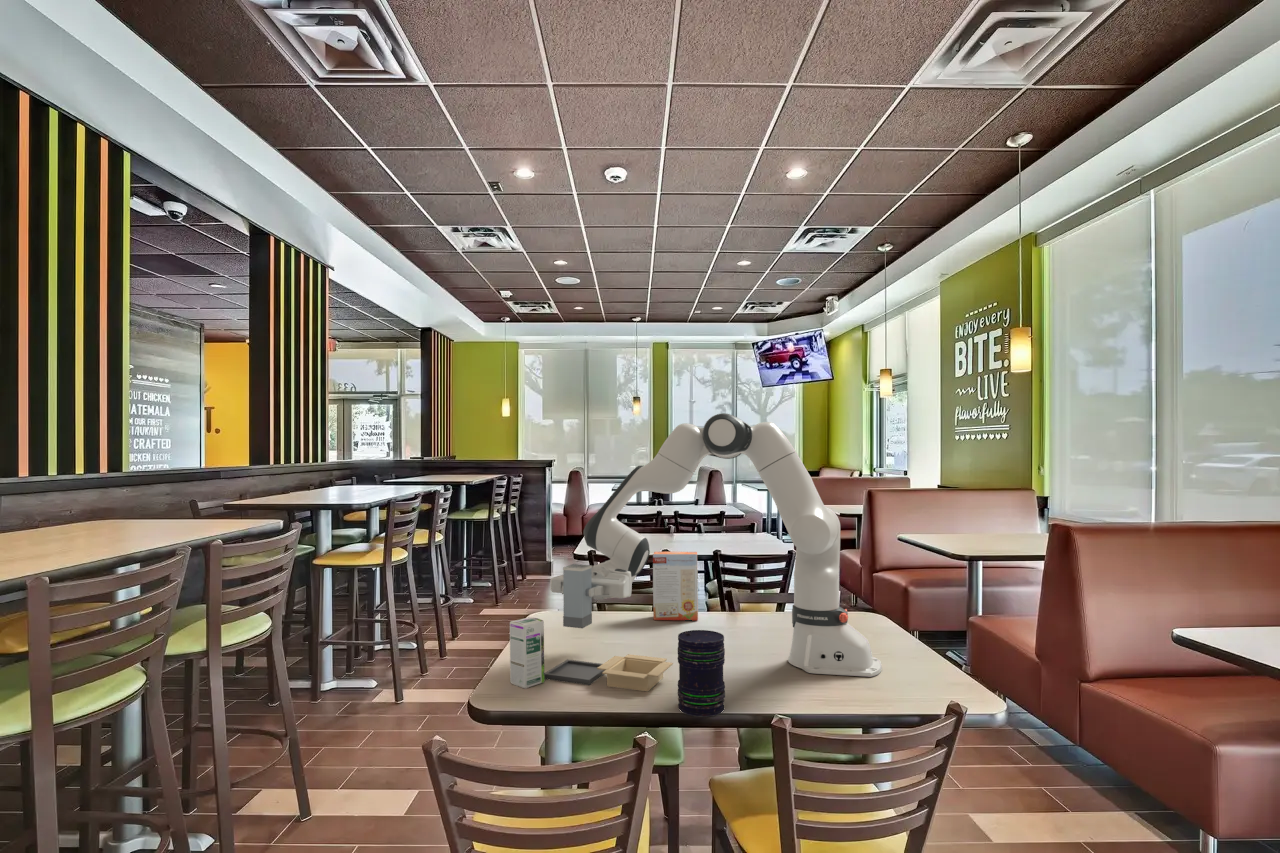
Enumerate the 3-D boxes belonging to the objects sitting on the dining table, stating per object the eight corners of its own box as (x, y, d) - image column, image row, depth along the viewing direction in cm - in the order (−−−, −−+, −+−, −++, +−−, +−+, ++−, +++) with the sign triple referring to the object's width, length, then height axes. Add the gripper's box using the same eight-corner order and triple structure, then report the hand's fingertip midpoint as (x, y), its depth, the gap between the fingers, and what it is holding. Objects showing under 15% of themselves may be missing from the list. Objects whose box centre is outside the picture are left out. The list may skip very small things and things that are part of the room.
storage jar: (731, 703, 152) (730, 632, 152) (716, 720, 143) (716, 644, 143) (687, 696, 156) (686, 628, 156) (670, 712, 147) (670, 639, 147)
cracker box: (698, 616, 228) (697, 551, 228) (697, 621, 222) (697, 553, 222) (654, 615, 229) (654, 550, 229) (652, 620, 223) (652, 553, 223)
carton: (676, 675, 170) (676, 659, 170) (654, 696, 156) (654, 679, 156) (619, 668, 175) (618, 653, 175) (592, 688, 161) (592, 671, 161)
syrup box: (525, 689, 161) (525, 624, 161) (509, 683, 165) (509, 620, 165) (544, 682, 165) (544, 619, 165) (528, 677, 169) (528, 615, 169)
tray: (610, 669, 174) (610, 664, 174) (589, 685, 163) (589, 679, 163) (567, 664, 179) (567, 659, 179) (543, 678, 168) (543, 673, 168)
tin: (591, 623, 173) (591, 565, 173) (582, 628, 168) (582, 568, 168) (573, 621, 175) (573, 564, 175) (563, 626, 170) (563, 567, 170)
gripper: (564, 566, 188) (538, 575, 175) (636, 571, 180) (614, 581, 167) (564, 590, 188) (538, 601, 175) (636, 596, 180) (614, 608, 167)
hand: (576, 592), depth 171 cm, fingers closed on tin, 5 cm apart
